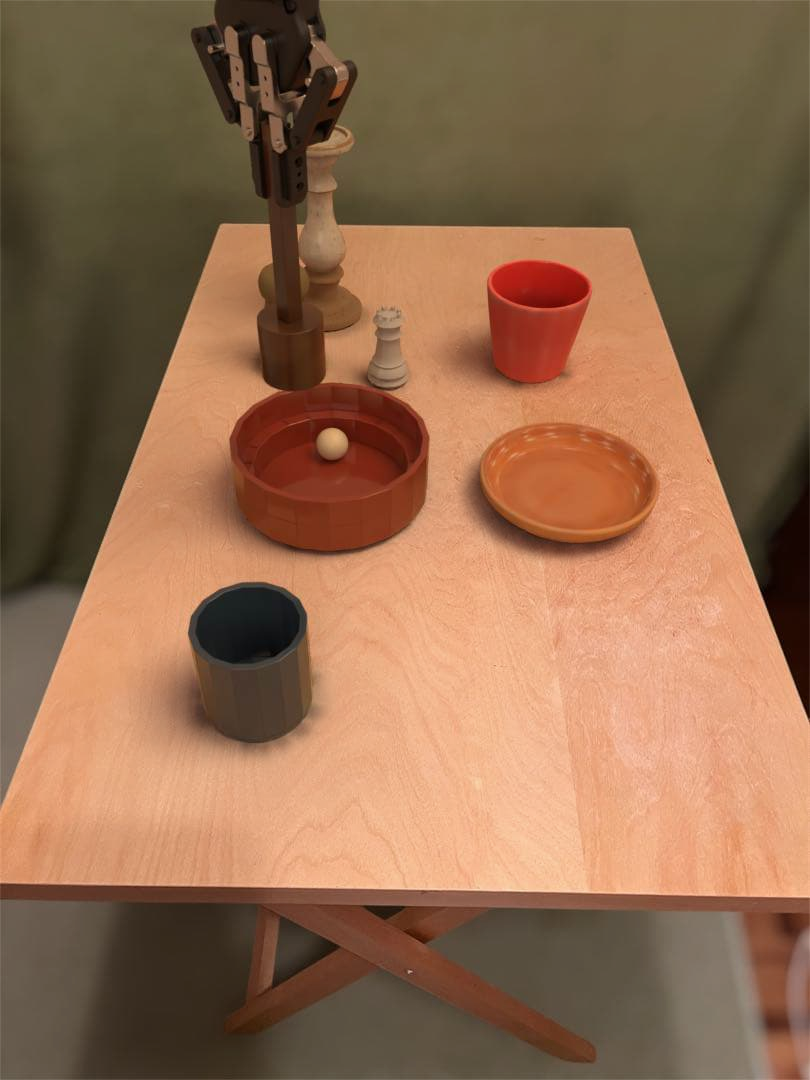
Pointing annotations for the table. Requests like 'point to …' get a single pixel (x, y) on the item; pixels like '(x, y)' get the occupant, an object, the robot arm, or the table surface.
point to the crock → (252, 660)
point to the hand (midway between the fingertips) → (281, 198)
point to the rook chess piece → (388, 351)
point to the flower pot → (535, 317)
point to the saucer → (568, 481)
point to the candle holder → (326, 236)
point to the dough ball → (332, 444)
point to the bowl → (330, 466)
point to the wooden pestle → (288, 303)
